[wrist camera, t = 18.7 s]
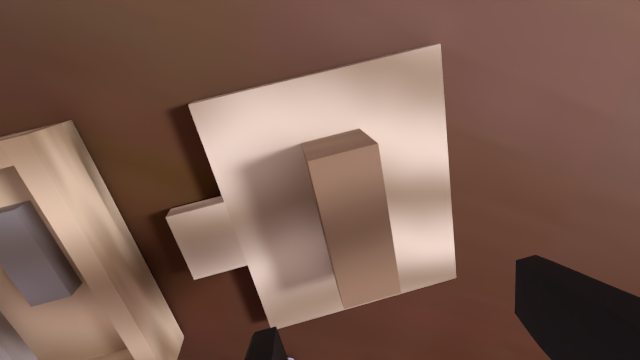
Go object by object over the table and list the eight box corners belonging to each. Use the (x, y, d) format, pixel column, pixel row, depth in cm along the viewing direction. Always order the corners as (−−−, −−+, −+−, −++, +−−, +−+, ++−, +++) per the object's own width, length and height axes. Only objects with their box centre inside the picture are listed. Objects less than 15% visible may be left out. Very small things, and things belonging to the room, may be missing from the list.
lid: (448, 268, 21) (485, 312, 18) (225, 331, 21) (216, 391, 17) (430, 44, 16) (478, 40, 12) (130, 117, 15) (85, 136, 12)
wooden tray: (184, 336, 20) (170, 381, 17) (-10, 389, 20) (-57, 444, 17) (71, 119, 15) (25, 134, 12) (-199, 184, 14) (-312, 215, 12)
